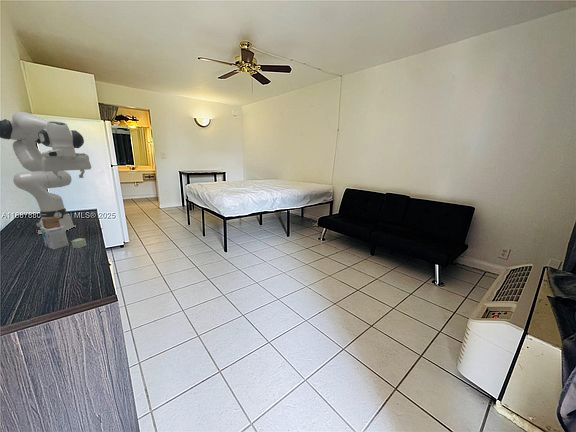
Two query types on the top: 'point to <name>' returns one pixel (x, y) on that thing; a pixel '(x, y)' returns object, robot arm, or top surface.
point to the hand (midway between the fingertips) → (71, 178)
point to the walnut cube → (51, 222)
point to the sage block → (79, 243)
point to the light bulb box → (55, 237)
